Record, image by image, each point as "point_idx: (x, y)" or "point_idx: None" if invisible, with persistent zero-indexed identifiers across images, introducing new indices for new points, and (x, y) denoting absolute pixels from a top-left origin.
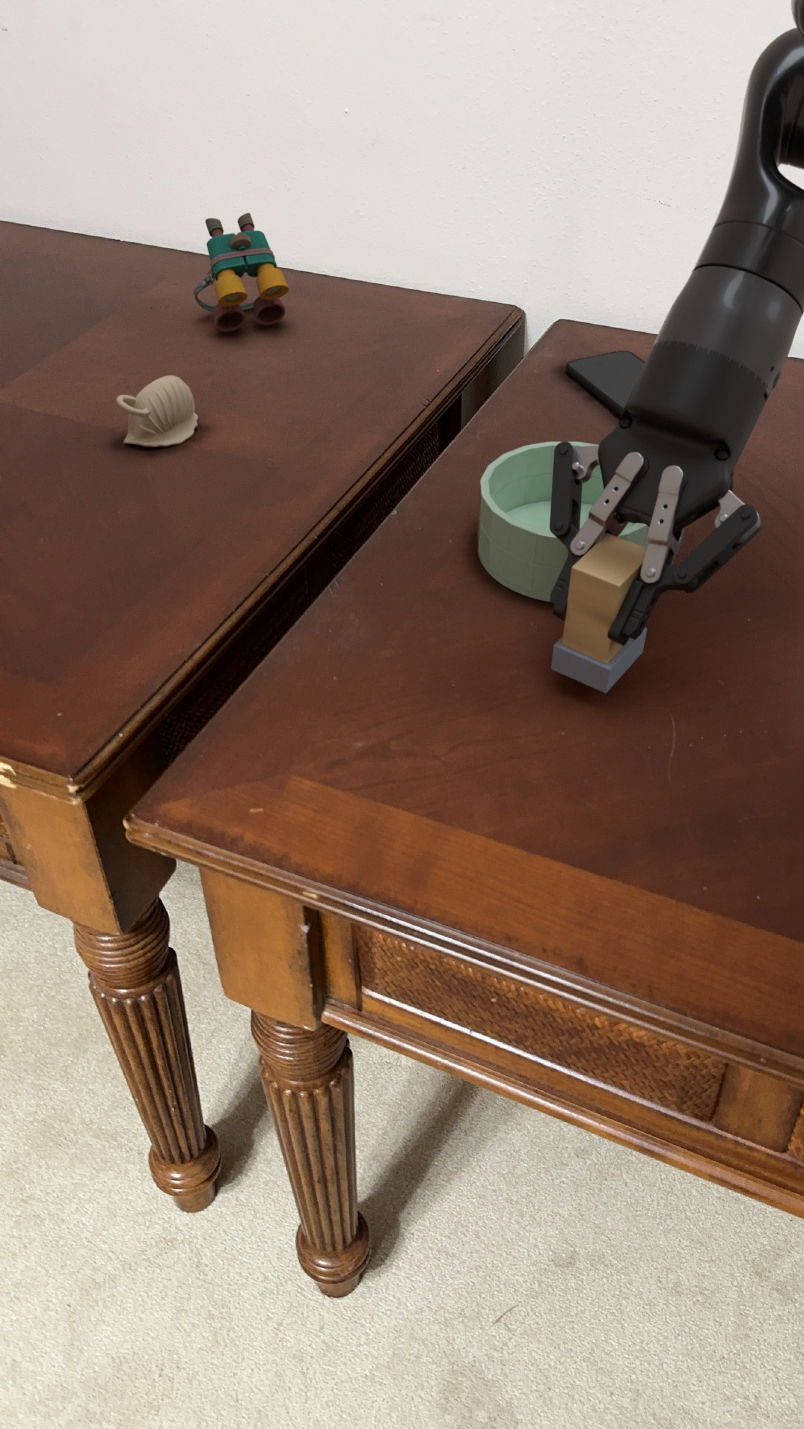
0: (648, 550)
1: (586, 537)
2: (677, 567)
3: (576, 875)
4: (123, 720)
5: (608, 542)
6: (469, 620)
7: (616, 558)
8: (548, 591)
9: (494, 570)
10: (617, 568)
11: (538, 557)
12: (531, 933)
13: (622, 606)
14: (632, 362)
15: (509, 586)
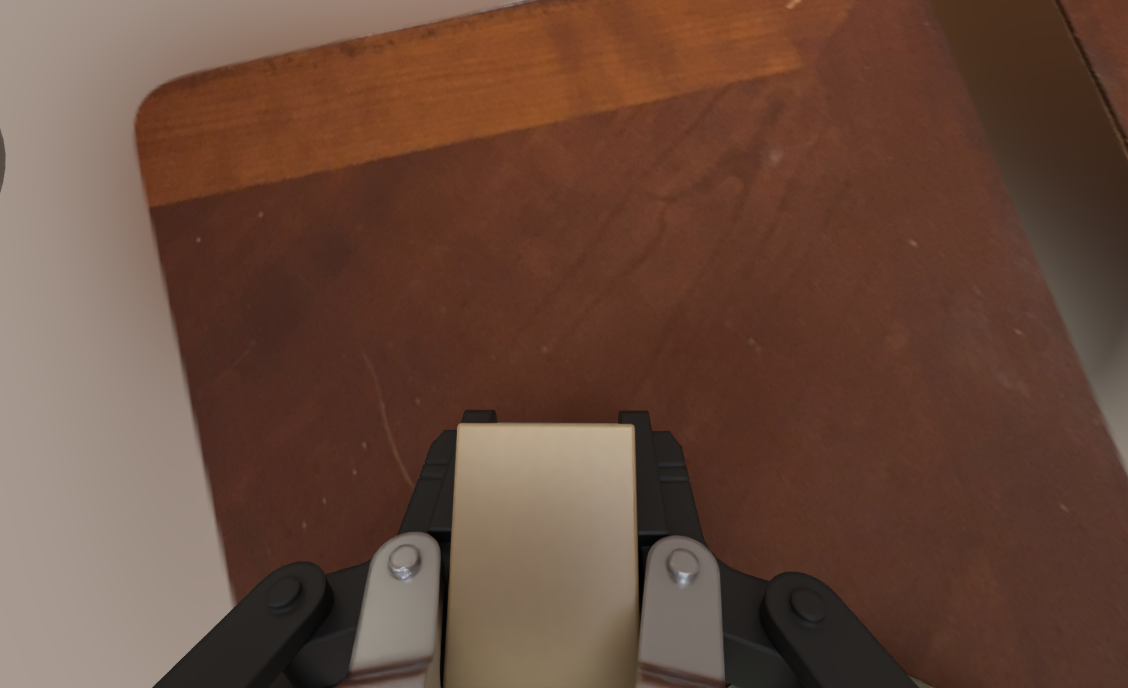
0: (425, 635)
1: (678, 601)
2: (303, 608)
3: (405, 142)
4: (1068, 7)
5: (604, 641)
6: (847, 512)
7: (533, 561)
8: None
9: (919, 682)
10: (504, 508)
11: None
12: (413, 51)
13: None
14: None
15: None
